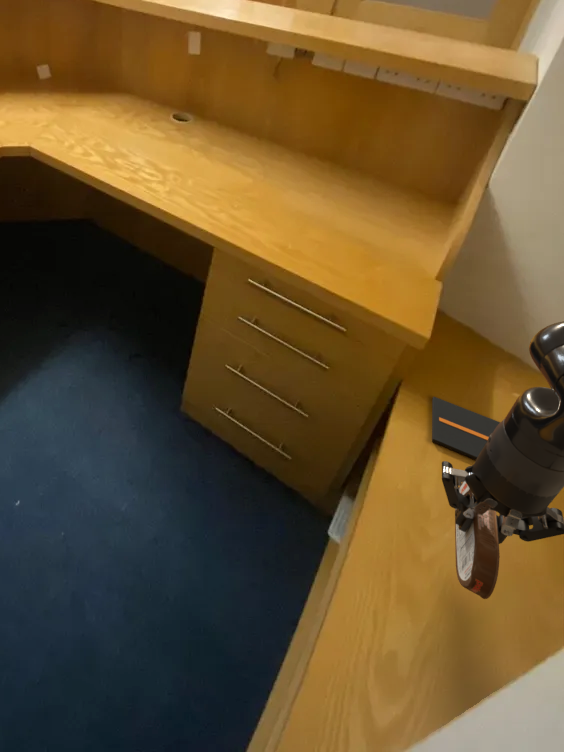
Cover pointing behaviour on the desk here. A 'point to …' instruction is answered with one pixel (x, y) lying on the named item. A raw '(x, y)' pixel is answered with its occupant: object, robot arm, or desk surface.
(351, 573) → the desk surface
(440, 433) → the mat
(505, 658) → the desk surface
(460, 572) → the tin
